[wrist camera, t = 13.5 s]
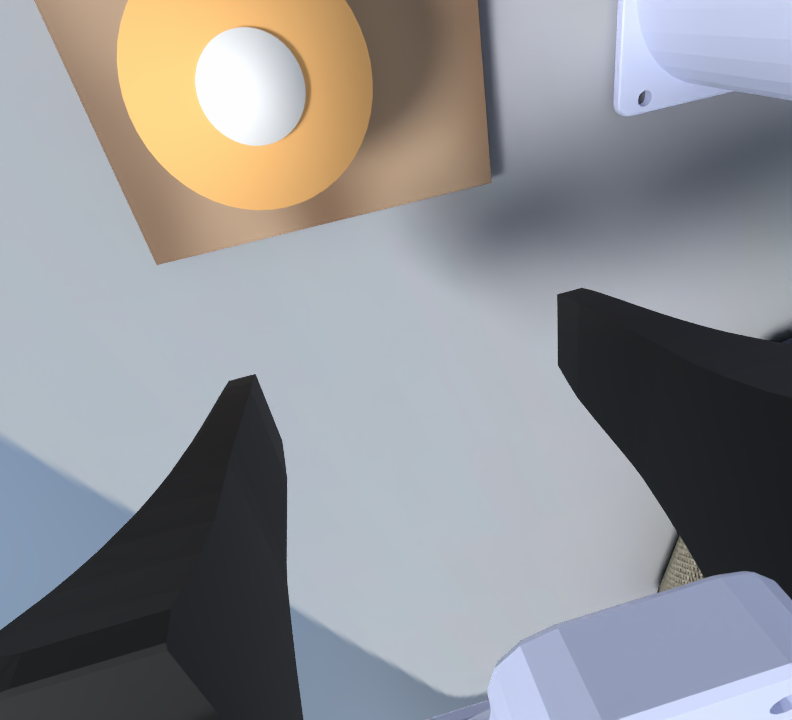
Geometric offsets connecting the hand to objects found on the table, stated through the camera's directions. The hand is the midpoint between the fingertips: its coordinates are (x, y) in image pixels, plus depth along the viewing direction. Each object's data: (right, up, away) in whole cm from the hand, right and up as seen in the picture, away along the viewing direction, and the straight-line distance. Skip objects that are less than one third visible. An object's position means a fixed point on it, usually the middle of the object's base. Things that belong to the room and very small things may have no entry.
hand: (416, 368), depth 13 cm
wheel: (-5, +9, +3) cm, 10 cm away
